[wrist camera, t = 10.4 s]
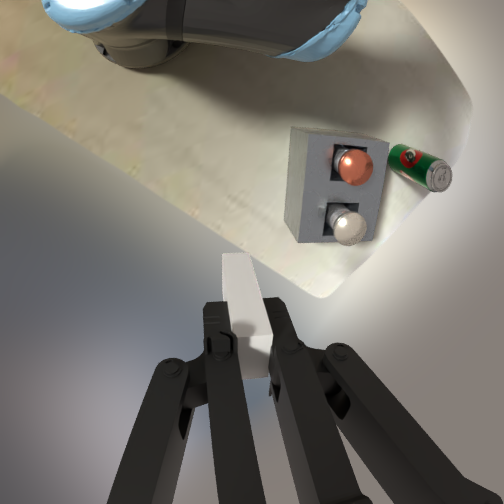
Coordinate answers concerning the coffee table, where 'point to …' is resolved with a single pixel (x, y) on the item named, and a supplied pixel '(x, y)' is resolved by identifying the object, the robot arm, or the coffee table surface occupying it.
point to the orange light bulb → (352, 165)
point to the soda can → (420, 167)
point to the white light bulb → (345, 223)
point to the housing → (329, 182)
